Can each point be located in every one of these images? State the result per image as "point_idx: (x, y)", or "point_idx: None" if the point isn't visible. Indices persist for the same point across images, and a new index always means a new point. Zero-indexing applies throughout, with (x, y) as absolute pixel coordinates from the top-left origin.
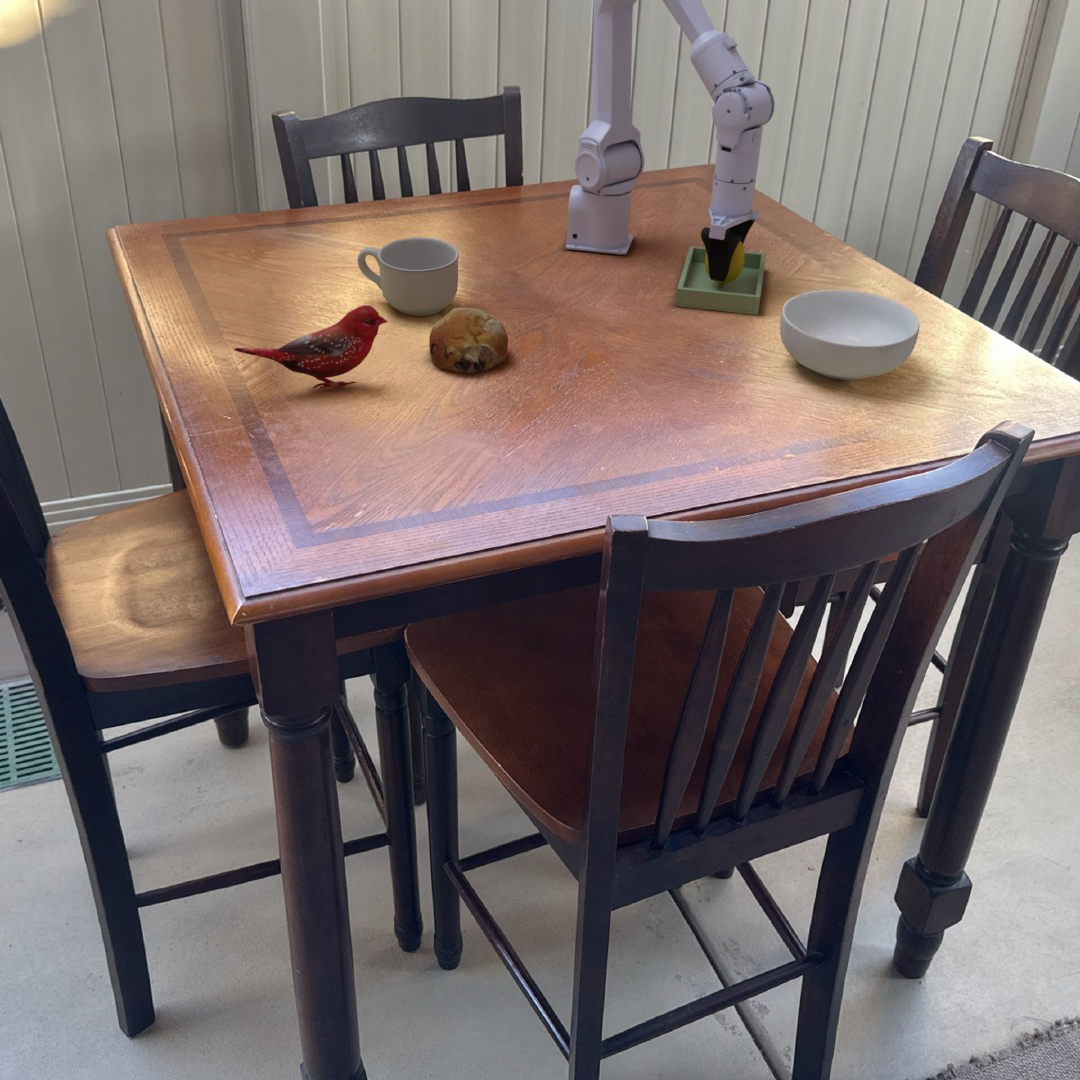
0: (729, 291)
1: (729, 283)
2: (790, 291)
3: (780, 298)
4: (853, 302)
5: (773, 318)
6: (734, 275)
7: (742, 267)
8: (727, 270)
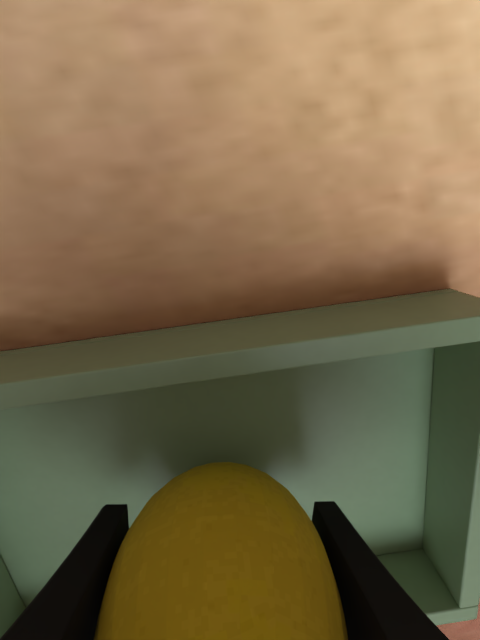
0: (267, 439)
1: (180, 458)
2: (104, 189)
3: (220, 224)
4: None
5: (469, 215)
6: (280, 486)
7: (230, 489)
8: (370, 550)
